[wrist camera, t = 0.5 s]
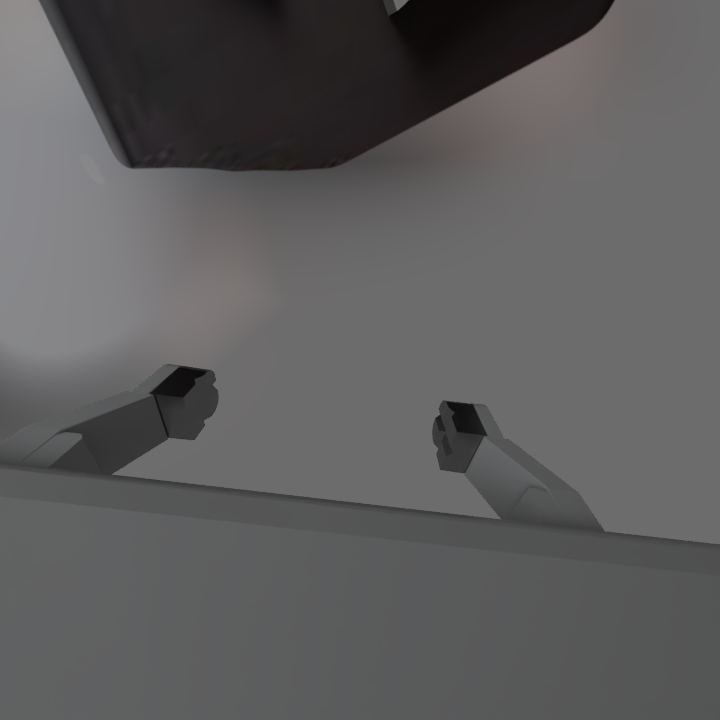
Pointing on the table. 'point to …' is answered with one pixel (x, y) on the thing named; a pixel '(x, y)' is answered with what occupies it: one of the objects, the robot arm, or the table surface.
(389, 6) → the keypad
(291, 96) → the table surface
